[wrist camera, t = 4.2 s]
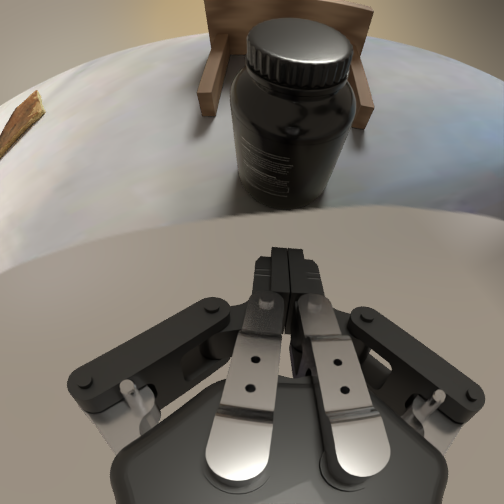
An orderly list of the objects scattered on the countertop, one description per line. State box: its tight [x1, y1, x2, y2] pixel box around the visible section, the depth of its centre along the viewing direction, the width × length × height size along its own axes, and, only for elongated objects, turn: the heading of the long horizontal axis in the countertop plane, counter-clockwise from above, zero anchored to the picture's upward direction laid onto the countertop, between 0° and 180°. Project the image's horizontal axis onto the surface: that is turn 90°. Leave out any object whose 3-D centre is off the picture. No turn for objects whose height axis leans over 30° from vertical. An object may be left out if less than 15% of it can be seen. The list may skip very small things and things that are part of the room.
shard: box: [0, 90, 46, 158], centre depth 24 cm, size 11×8×2 cm
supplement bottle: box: [230, 18, 356, 209], centre depth 15 cm, size 7×7×12 cm
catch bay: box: [197, 0, 374, 129], centre depth 20 cm, size 16×11×8 cm
